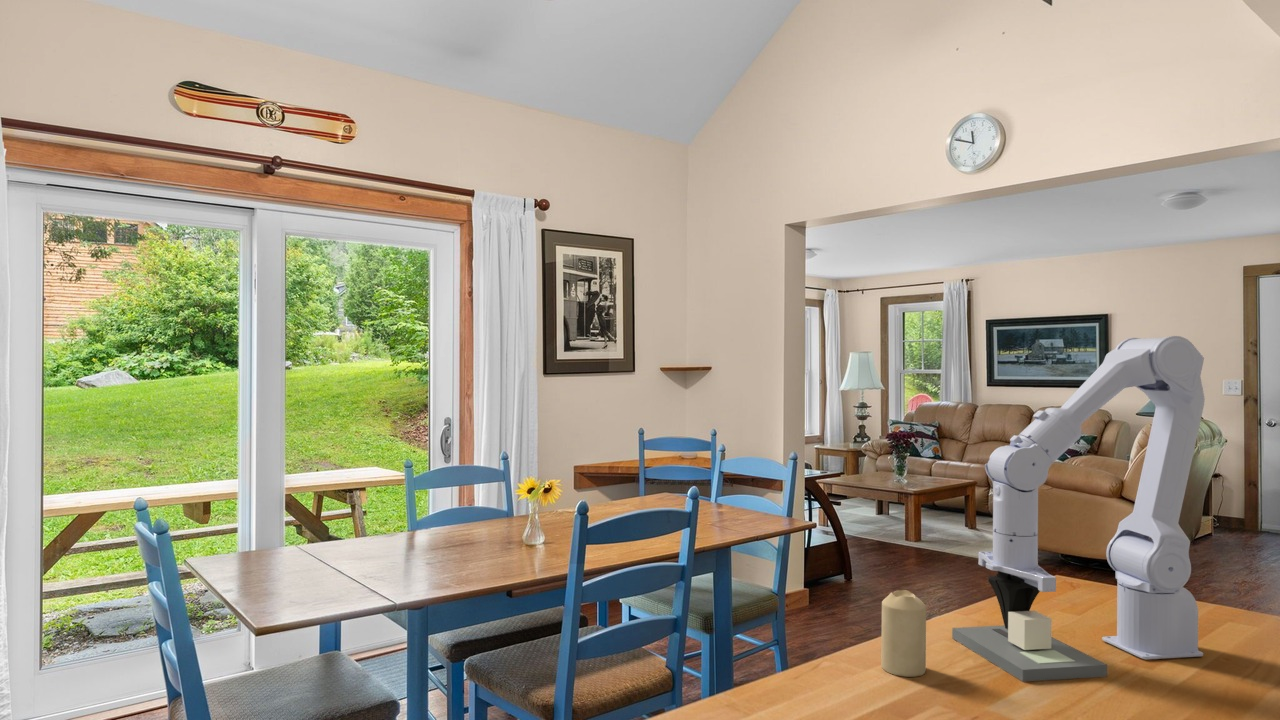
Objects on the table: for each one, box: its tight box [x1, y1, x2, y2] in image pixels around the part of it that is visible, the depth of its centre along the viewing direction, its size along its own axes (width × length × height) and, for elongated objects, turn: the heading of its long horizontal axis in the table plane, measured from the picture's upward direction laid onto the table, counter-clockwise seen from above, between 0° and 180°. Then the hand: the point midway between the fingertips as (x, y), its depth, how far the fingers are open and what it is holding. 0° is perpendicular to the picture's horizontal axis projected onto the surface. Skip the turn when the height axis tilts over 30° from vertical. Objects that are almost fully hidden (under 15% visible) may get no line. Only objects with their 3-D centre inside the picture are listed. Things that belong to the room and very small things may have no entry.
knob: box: [1008, 610, 1053, 650], centre depth 108 cm, size 4×4×4 cm
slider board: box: [951, 624, 1108, 683], centre depth 109 cm, size 12×16×2 cm
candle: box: [880, 589, 927, 678], centre depth 104 cm, size 6×6×10 cm
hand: (1014, 629), depth 111 cm, fingers closed
